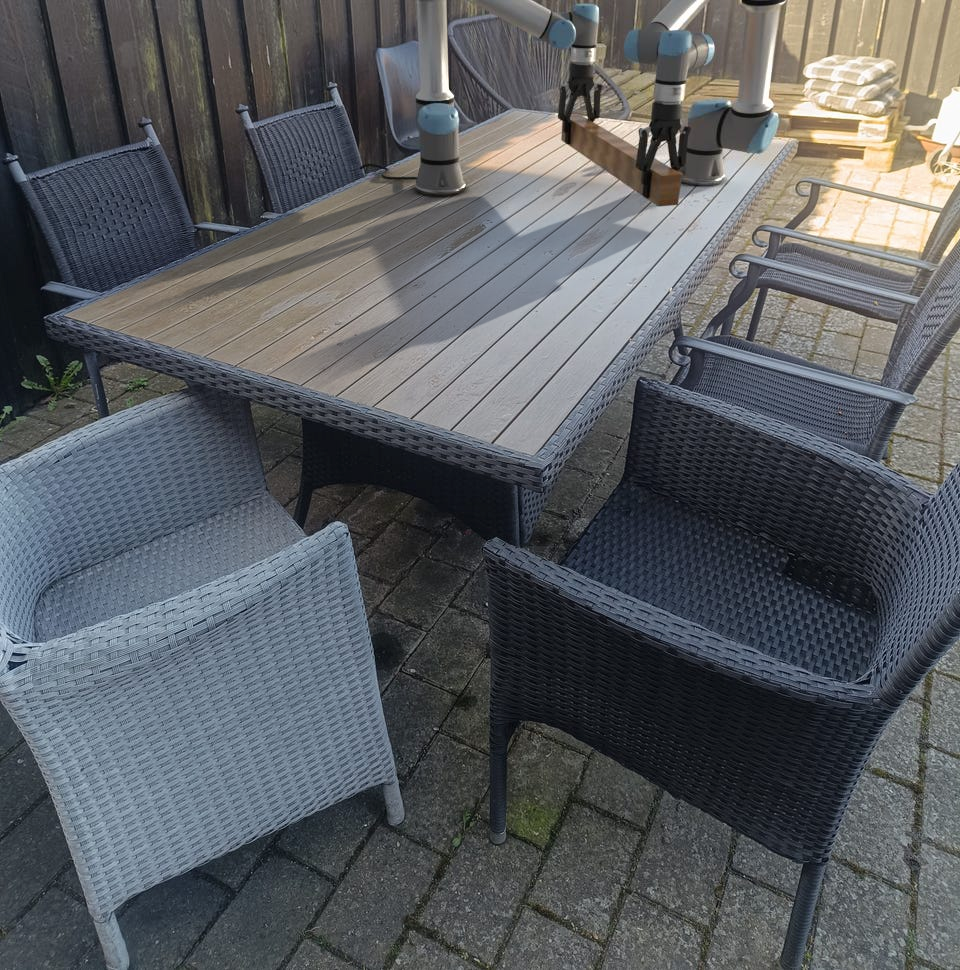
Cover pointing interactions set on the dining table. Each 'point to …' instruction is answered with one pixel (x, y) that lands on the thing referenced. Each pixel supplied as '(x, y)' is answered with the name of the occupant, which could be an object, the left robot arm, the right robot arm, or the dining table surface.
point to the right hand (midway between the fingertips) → (656, 195)
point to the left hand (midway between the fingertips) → (576, 142)
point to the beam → (622, 160)
